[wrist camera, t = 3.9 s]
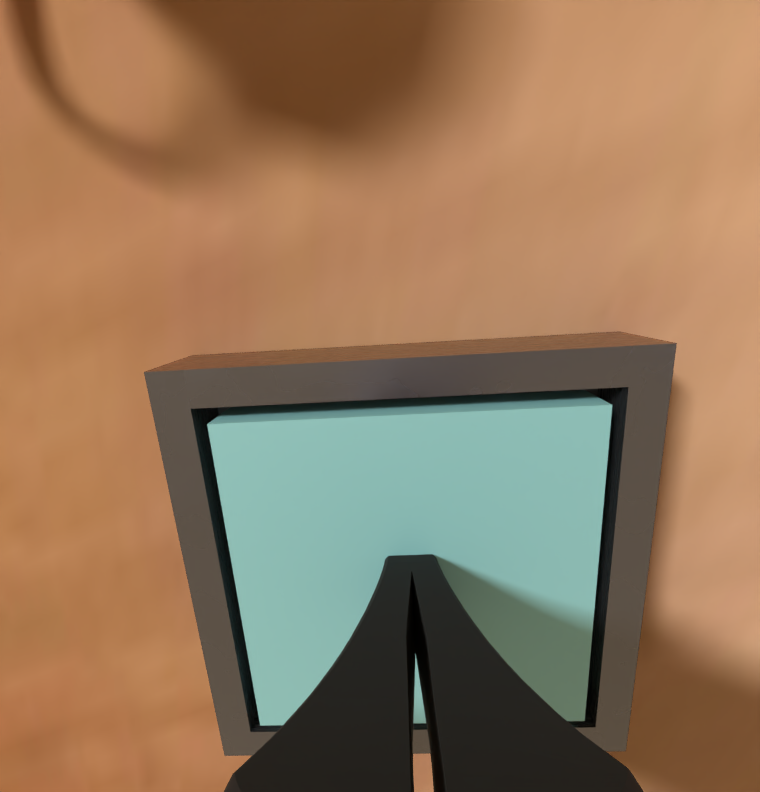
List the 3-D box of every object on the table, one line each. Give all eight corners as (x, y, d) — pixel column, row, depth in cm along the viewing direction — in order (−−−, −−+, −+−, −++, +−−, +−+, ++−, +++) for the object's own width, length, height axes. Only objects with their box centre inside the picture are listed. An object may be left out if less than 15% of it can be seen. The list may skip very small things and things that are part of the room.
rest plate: (584, 389, 11) (612, 404, 10) (564, 675, 14) (584, 720, 13) (229, 407, 12) (206, 424, 10) (273, 681, 14) (260, 725, 13)
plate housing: (619, 331, 12) (676, 343, 10) (589, 678, 15) (625, 751, 13) (191, 355, 13) (144, 372, 10) (250, 684, 16) (224, 755, 14)
